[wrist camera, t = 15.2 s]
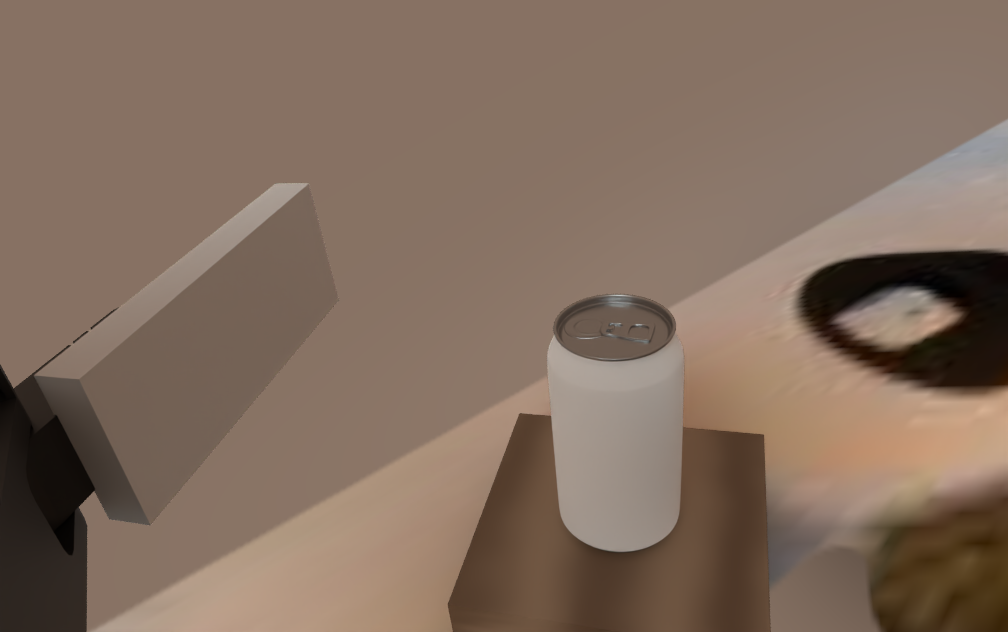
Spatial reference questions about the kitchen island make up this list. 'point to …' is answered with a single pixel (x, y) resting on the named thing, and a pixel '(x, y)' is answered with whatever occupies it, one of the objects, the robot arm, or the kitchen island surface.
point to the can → (617, 420)
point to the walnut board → (620, 576)
